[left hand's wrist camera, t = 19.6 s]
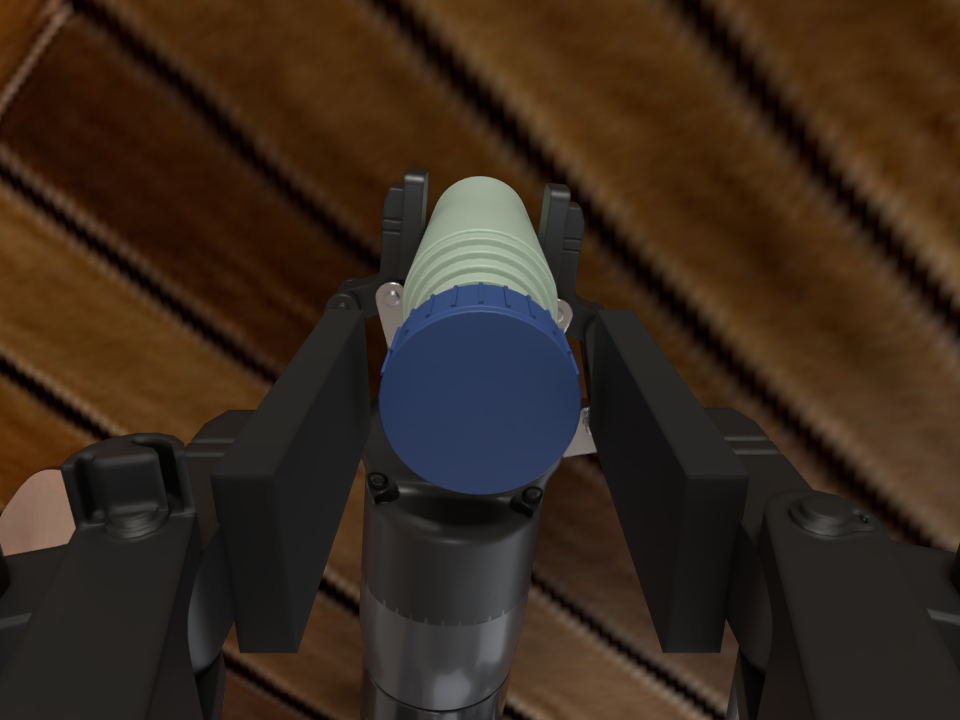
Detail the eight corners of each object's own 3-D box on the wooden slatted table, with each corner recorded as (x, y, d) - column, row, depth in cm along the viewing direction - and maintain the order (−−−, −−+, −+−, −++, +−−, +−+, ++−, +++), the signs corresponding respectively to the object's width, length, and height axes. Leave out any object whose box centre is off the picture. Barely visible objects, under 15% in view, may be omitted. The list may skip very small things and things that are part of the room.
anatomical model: (-67, 497, 31) (184, 546, 32) (-8, 454, 35) (215, 500, 36) (-54, 704, 36) (164, 741, 37) (-4, 647, 39) (193, 682, 40)
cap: (564, 270, 14) (576, 296, 12) (577, 441, 15) (590, 486, 13) (373, 292, 14) (357, 321, 12) (404, 459, 15) (394, 506, 13)
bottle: (419, 192, 30) (337, 323, 13) (512, 163, 30) (559, 257, 12) (448, 283, 31) (411, 509, 14) (538, 257, 31) (611, 456, 14)
